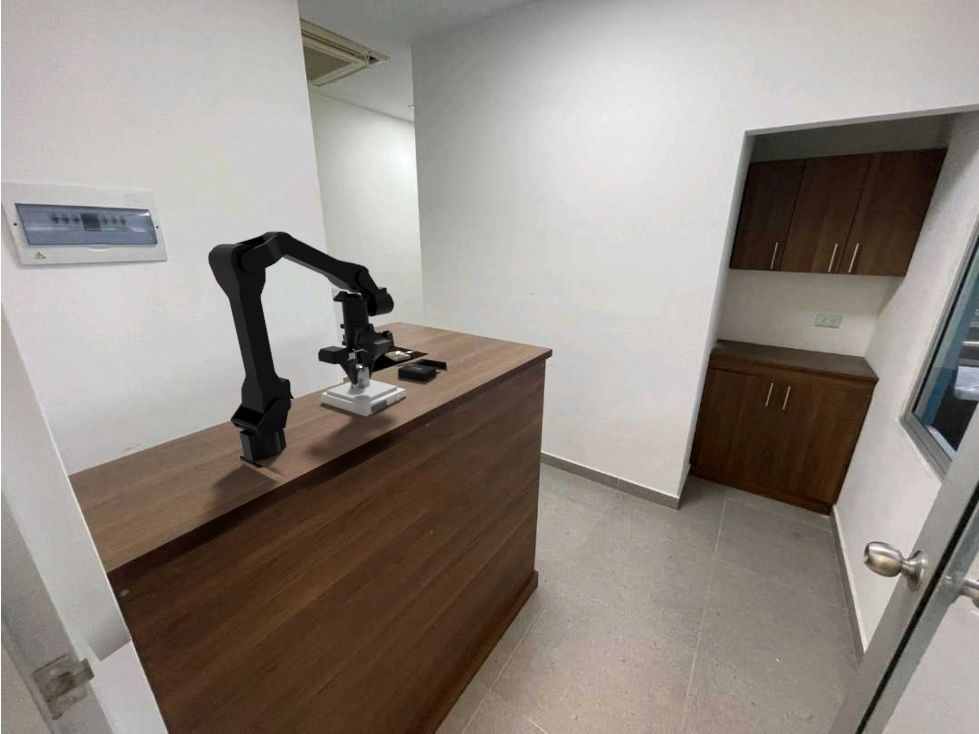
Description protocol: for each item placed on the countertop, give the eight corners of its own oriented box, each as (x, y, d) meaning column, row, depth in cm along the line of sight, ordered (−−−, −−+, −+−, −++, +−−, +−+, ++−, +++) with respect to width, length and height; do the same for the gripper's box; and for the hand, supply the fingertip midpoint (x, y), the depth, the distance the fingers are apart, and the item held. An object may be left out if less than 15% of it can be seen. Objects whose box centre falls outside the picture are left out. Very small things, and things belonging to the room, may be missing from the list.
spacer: (362, 389, 92) (361, 369, 91) (349, 387, 94) (347, 367, 92) (373, 384, 96) (371, 365, 94) (360, 382, 97) (358, 363, 96)
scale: (367, 416, 91) (366, 404, 90) (321, 402, 99) (320, 390, 98) (407, 398, 102) (406, 386, 101) (363, 386, 110) (362, 375, 109)
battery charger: (424, 386, 112) (424, 373, 111) (398, 381, 116) (397, 368, 115) (447, 374, 123) (446, 362, 122) (422, 369, 127) (421, 358, 126)
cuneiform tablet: (396, 355, 126) (382, 348, 135) (398, 368, 127) (383, 360, 136) (416, 351, 130) (400, 344, 139) (417, 363, 131) (401, 356, 140)
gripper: (347, 330, 78) (354, 400, 83) (409, 317, 94) (411, 377, 98) (312, 324, 84) (320, 390, 88) (376, 313, 99) (380, 370, 104)
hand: (361, 381), depth 95 cm, fingers closed on spacer, 4 cm apart
